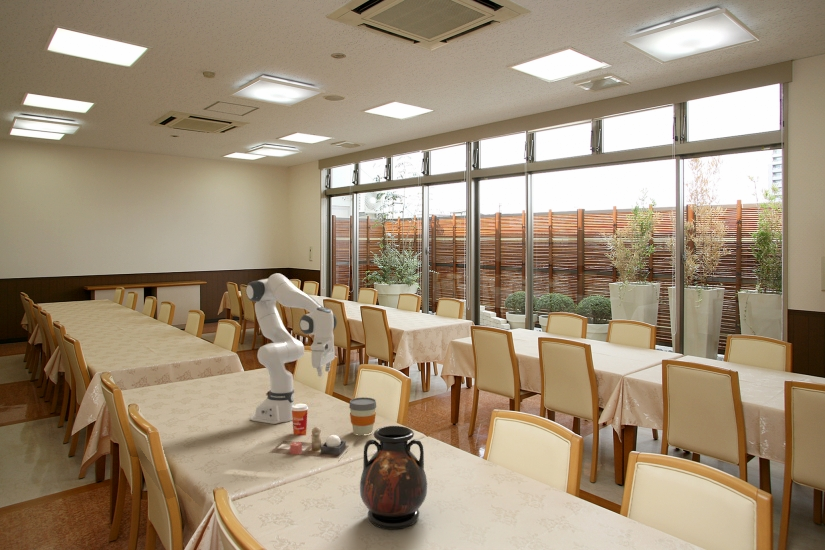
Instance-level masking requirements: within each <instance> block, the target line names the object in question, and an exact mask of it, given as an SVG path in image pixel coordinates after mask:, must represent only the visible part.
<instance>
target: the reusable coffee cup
mask: <svg viewBox="0 0 825 550" xmlns="http://www.w3.org/2000/svg"><path fill="white" fill-rule="evenodd" d="M348 408H349V409H350V413H349V417H350V423H351V425H352V433H354V434H358V435H364V434H369V433H371V432H372V431H373V432H374V424H375V422H376V414H377V412H376V408H377V400H376V399H375V398H372V397H366V396H365V397H364V396H363V397H355V398H352V399H350V400H349V407H348ZM373 432H372V433H373ZM354 434H353V435H354Z"/></svg>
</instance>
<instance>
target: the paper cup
mask: <svg viewBox="0 0 825 550" xmlns="http://www.w3.org/2000/svg"><path fill="white" fill-rule="evenodd" d="M291 410H292V420H291V421H292V429H293V430H292V431H293V436H294V435H297V436H307V429H308V427H307V426H308V424H307V423H308V410H309V407H308V405H307V404H305V403H296V404H294V405H293V406H292V408H291Z"/></svg>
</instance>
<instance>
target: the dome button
mask: <svg viewBox="0 0 825 550" xmlns="http://www.w3.org/2000/svg"><path fill="white" fill-rule="evenodd" d="M326 438H327V439H326V440H325V442H326V445H327V447H337V448H339V446H340V444H341V441H342V440H341V438H340V437H339V436H338V435H336V434H331V435H329V436H328V437H326Z"/></svg>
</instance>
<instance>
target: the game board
mask: <svg viewBox="0 0 825 550" xmlns="http://www.w3.org/2000/svg"><path fill="white" fill-rule="evenodd" d="M293 442H296V441H295V440H294V441H293V440H282V441H281V442H280V443H279V444H277V445H276V446H275V447H274V448H272V450H270V451H269V452H268V453H269V454H282V455H291V456H292V455H293V456H304V457H305V456H306V457H317V458H318V457H319V458H327V459H329V458H331V459H339V458H341V457H342V456H343V453H344V452H346V451H347V450H348V449H349V445H347V444H346V441H345V440H341V444H340V446H339V448H337V447H327V445H326V441H325V442H324V443H321V450H318V451H313V450H312V442H308V441H307V442H306V441H297V442H298V443H302V452H301V453H300V454H299V455H298V454H290V445H291V444H292V443H293ZM339 461H340V460H338V462H339ZM338 462H337V463H338Z"/></svg>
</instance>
